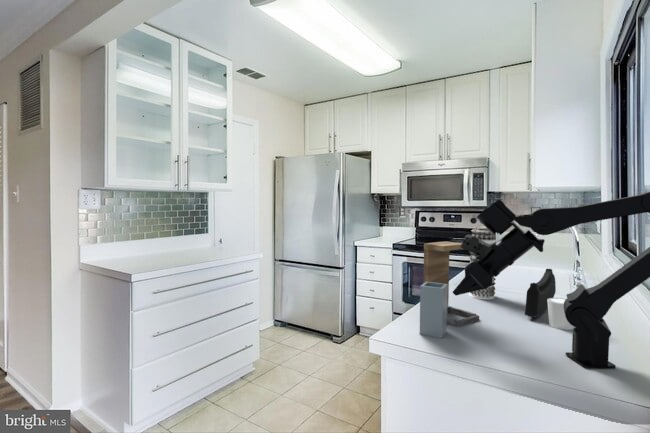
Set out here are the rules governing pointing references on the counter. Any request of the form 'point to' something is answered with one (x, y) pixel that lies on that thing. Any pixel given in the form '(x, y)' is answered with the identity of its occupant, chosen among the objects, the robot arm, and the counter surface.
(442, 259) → the wooden c-shaped stand
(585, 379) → the counter surface
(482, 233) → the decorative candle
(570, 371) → the counter surface
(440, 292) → the sleeve
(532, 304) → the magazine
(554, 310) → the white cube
